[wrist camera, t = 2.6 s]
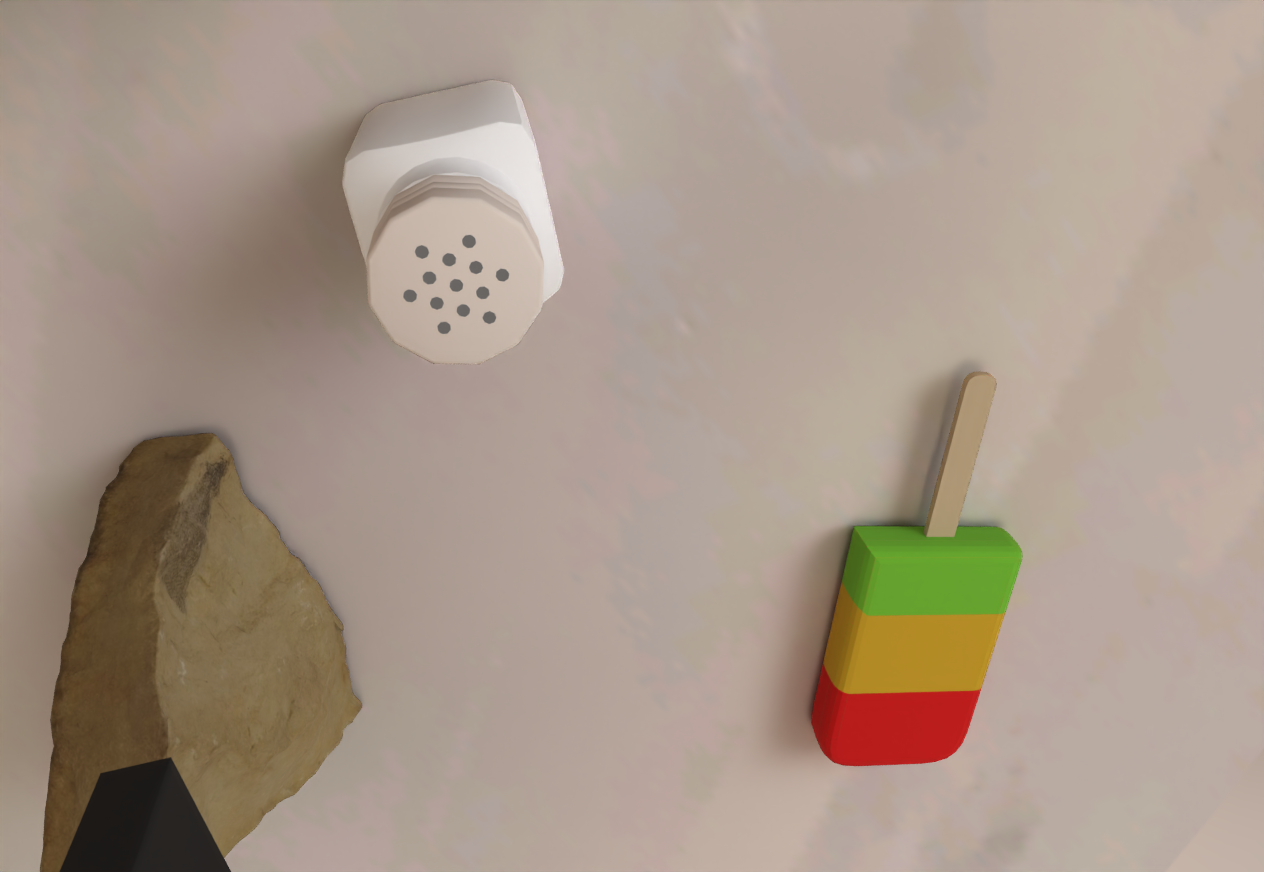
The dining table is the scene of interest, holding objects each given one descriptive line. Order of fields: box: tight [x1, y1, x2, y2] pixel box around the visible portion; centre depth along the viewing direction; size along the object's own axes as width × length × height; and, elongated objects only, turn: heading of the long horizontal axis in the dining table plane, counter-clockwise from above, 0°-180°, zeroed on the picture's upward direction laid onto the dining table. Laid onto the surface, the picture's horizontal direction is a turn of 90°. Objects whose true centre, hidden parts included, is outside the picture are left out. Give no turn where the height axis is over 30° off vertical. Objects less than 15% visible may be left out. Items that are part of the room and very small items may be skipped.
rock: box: [40, 433, 362, 872], centre depth 29 cm, size 11×9×10 cm
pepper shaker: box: [342, 80, 564, 364], centre depth 23 cm, size 4×4×10 cm
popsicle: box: [812, 372, 1022, 766], centre depth 34 cm, size 6×15×2 cm, turn 174°
